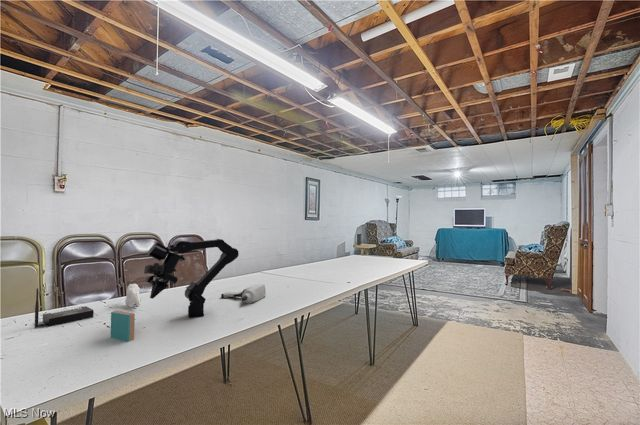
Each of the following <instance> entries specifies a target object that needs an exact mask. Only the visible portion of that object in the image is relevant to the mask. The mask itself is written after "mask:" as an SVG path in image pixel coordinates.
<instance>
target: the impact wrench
mask: <svg viewBox="0 0 640 425" xmlns="http://www.w3.org/2000/svg"><path fill="white" fill-rule="evenodd" d="M220 295H221V296H220V297H221V299H227V298H241V301H242V302H243V303H246V304H252V303H255V302H258V301H259V300H261V299H263V298H265V297H266V286H265V283H258V284H253V285H250V286H248V287H246V288H244V289H243V290H242V291H224V292H223V293H221V294H220Z"/></svg>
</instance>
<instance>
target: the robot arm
mask: <svg viewBox="0 0 640 425" xmlns="http://www.w3.org/2000/svg"><path fill="white" fill-rule="evenodd" d="M211 248H218V250H219V251H220V252H221V254H220V257H219V259H218V260H217V261H216V262H215V263H214V264H213V265H212V266H211V267H210V268H209V269H208V270H207V271H206V273H205V274H204V275H202V277H201V278H199V279H198V281H196V282H194V281H191V282H190V283H189V285H188V286H186V287H185V288H186V289H185V290H184V297H185V298H186V299H187V300H188V302H189V305H188V306H187V307H188V308H187V315H188V317H189V318H190V319H191V318H198V317H204V316H205V314H204V309H205V308H204V306H205V303H206V300H207V299H206V298H205V297H204V296H203V294H204V292H205V289H206V288H207V286H208V285H209V284H210V283H211V282H212V280H213V279H214V278H216V277H217V275H219V273H220V272H221V271H222V270H223V269H224V268H225V267H226V266H227V265H228V264H231V263H232V262H233V261H235V260H236V259H237V258H238V257H239V250H238V249H237V248H235V247H233V246H231V245H229V244H228V243H227V242H225V240H224V239H221V238H215V239H207V240H197V241H196V240H195V241H190V240H175V242H174V243H173V244H171V245H169V246H165V245H163V244H162V243H160V242H158V241H157V242H155V243H154V244H153V245H152V247H150V248H149V249H148V251H147V257H148V256H149V257H151V258H152V259H155V260H157V261H159V262H160V261H163V260H164V261H163V262H162V264H160V263H159V262H158V263H157V262H153V264H148V265H145V266H144V272H143V273H144V274H146V275H147V274H152V275H149V276H147V277H146V278H145V282H146V283H148V284H151V285H152V286H151V290H150V296H149V298H150V299H155V298H156V297H157V296H158V295H159V294H160V293H162V292H163V291H164V290H165V289H166V288H168V287H169V285H170V284H169V283H170V282H171V285H176V284H177V282H178V280H179V279H178V276H175V275H174V274H173V273H176V271H177V269H176V267H177V265H178V264H179V262H184V261H186V259H185V257H184V254H185V253H190V252H193V251H195V250H203V249H211ZM180 254H181V255H180Z"/></svg>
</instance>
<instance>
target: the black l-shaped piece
mask: <svg viewBox="0 0 640 425" xmlns="http://www.w3.org/2000/svg"><path fill="white" fill-rule="evenodd" d="M35 295H36V297H35V307H34V329H38V328H43V327H48V328H49V327H56V326H59V325H65V324H69V323H73V322H78V321H83V320H88V319H92V318H94V309H93V308H90V307H88V306H81V307H78V308H74V309H73V308H71V309H69V310H63V311H62V310H61V311H57V312H49V313H44V314H42V323H39V310H40V308H39V306H40V305H39V304H40V303H39V288H36V294H35Z"/></svg>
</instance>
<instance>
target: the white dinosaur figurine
mask: <svg viewBox="0 0 640 425" xmlns="http://www.w3.org/2000/svg"><path fill="white" fill-rule="evenodd" d="M140 294H141V288H140V287H139V285H138V284H137V283H135V282H134V283H129V285H128V286H127V288H126V296H125V302H124V303H125V305H126V306H127V307H129V308H134V306H135V305H136V307H140V306H141V305H142V297H141V295H140Z"/></svg>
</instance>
